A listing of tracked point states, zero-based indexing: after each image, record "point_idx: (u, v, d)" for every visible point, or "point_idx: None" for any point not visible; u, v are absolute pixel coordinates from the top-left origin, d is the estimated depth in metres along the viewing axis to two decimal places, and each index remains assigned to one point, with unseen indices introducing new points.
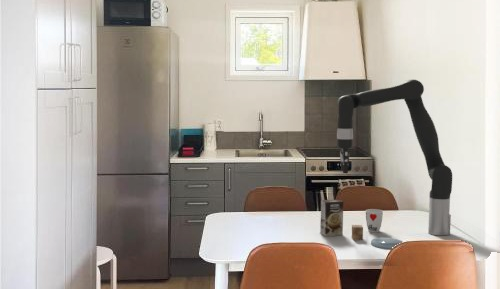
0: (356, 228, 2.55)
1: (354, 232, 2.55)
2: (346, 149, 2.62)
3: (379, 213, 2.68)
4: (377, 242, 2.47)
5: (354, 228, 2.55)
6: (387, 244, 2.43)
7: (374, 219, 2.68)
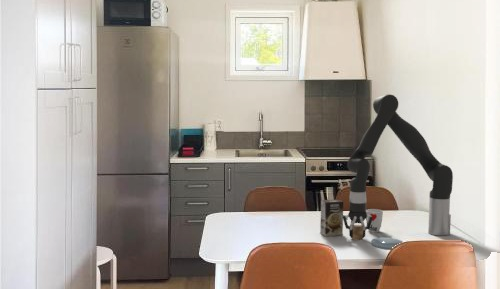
0: (356, 228, 2.55)
1: (354, 232, 2.55)
2: None
3: (379, 213, 2.68)
4: (377, 242, 2.47)
5: (354, 228, 2.55)
6: (387, 244, 2.43)
7: (374, 219, 2.68)
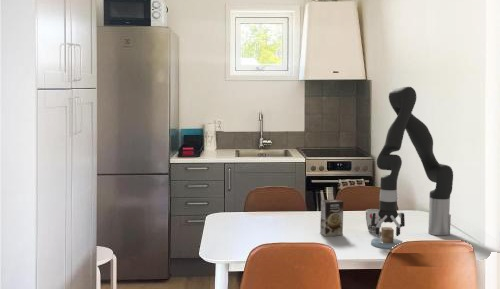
0: (386, 230, 2.45)
1: (384, 235, 2.45)
2: None
3: None
4: (377, 242, 2.47)
5: (384, 230, 2.45)
6: (387, 244, 2.43)
7: None
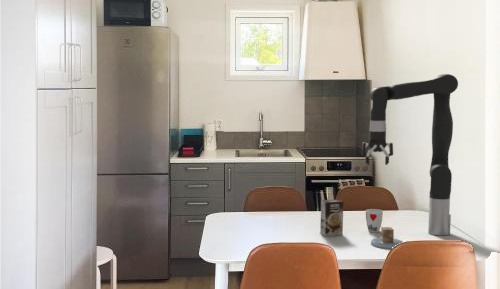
0: (386, 230, 2.45)
1: (384, 235, 2.45)
2: None
3: (379, 213, 2.68)
4: (377, 242, 2.47)
5: (384, 230, 2.45)
6: (387, 244, 2.43)
7: (374, 219, 2.68)
